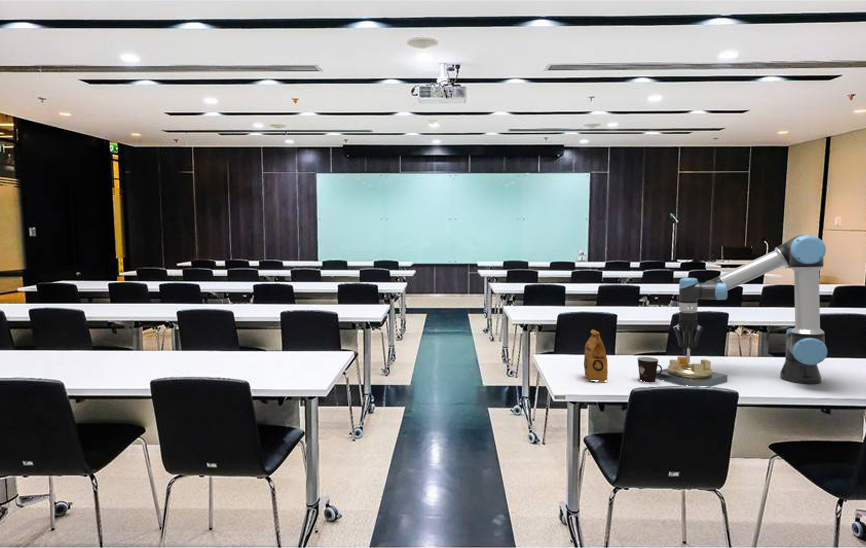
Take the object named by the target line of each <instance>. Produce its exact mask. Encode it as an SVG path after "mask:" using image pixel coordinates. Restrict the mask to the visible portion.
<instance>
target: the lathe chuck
mask: <svg viewBox="0 0 866 548" xmlns="http://www.w3.org/2000/svg"><path fill="white" fill-rule="evenodd" d="M676 358H677V359H669V365H668V366H667V368H668V372H669V373H671V374H674V375H677V376H682V377H690V378H706V377H711V376H712V372H713V369H712V368H711V366H712V365H711V363H712V361H711V360H708V359H700V363H687V357H686V356H677V357H676Z"/></svg>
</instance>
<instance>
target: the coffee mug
mask: <svg viewBox="0 0 866 548" xmlns="http://www.w3.org/2000/svg"><path fill="white" fill-rule="evenodd" d="M637 367H638V374H639V377H638V378H639V381H640V380H642V381H645V382H654V383H655V382H656V380H657V379H656V376H657V375H659V374H660V373H661V372H662V370H663V367H662V365H660V364H659V359H658V358H655V357H651V356H650V357H649V356H640V357H637ZM658 367H659V368H660V370H661V371H660V373H658V374H656V372H657V371H658ZM645 382H644V383H645Z"/></svg>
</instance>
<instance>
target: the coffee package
mask: <svg viewBox="0 0 866 548" xmlns="http://www.w3.org/2000/svg"><path fill="white" fill-rule="evenodd" d="M590 334H591V335H590V337H588V340H587V341H586V343H585V344H584V355H583V356H584V357H583V358H584V360H583V369H584V376H585V377H586V379H588V380H589V381H590V380H599V381H605V380H607V381H608V373H609V372H608V370H609V369H608V357H607V354H606V348H605V345H604V342H603V340H602V339H601V336H600V332H599V331H597V330H595V329H591V330H590Z"/></svg>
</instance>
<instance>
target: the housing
mask: <svg viewBox="0 0 866 548" xmlns="http://www.w3.org/2000/svg"><path fill="white" fill-rule="evenodd" d="M660 371H661V369H659V370H658V369H657V372H656V374H658V373H660ZM658 379H659V381H662V380H664V381H663V382H666V381H667V383H670V382H671V384H674V383H675V385H679V386H682V385H688V386H710V387H713V386H716V385H720V384H723V383H727V382H728V379H729V378H728V374H723V373H721V372H720V373H719V372H715V371H712V376H711V377H706V378H690V377H682V376H677V375H674V374H671V373H669V372H668V367H667V368H664V369H663V368H662V372H661V373H660V374H659V375H657V376H656V379H655V380H658Z"/></svg>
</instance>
